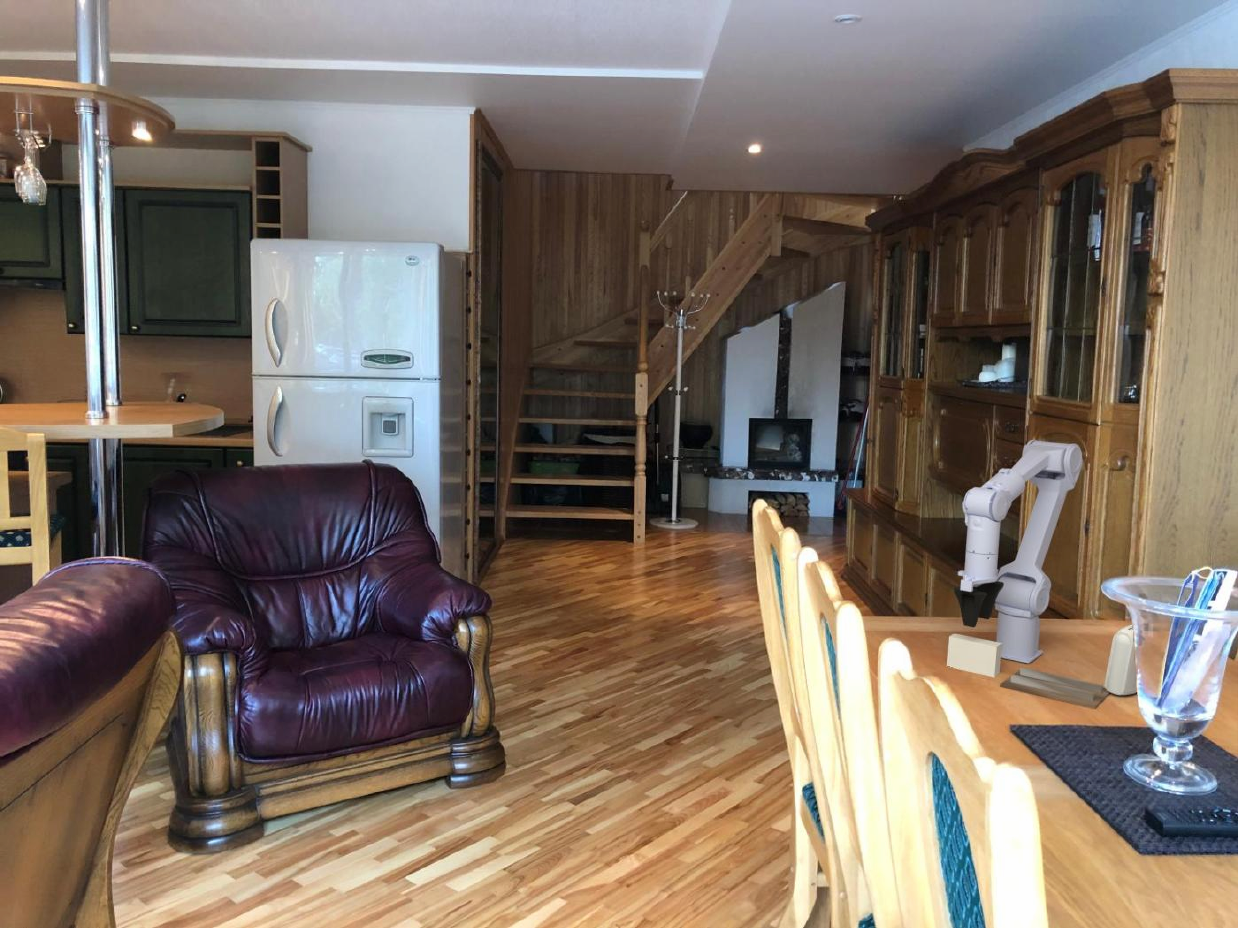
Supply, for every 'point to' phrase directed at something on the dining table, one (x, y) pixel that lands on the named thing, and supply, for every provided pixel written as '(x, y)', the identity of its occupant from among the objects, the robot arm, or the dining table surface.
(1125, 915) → the dining table surface
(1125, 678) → the cream rounded upright block
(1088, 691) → the track board
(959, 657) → the cream rectangular block
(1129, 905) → the dining table surface
